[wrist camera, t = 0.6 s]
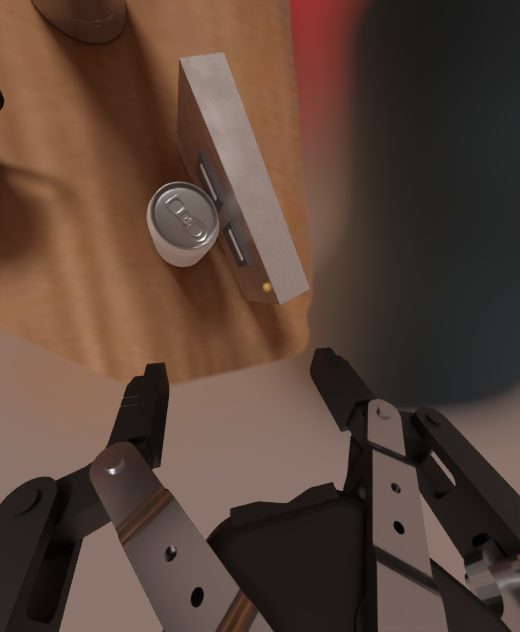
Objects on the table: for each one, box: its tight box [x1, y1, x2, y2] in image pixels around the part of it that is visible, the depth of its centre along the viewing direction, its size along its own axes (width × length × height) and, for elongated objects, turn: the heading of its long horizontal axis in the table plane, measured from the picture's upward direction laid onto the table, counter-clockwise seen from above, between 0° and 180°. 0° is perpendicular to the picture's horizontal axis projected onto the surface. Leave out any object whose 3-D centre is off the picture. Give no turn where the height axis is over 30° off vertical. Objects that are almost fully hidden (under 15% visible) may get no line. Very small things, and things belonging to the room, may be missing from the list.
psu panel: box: [176, 52, 310, 305], centre depth 27 cm, size 22×4×12 cm, turn 25°
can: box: [147, 182, 219, 267], centre depth 25 cm, size 6×6×12 cm
